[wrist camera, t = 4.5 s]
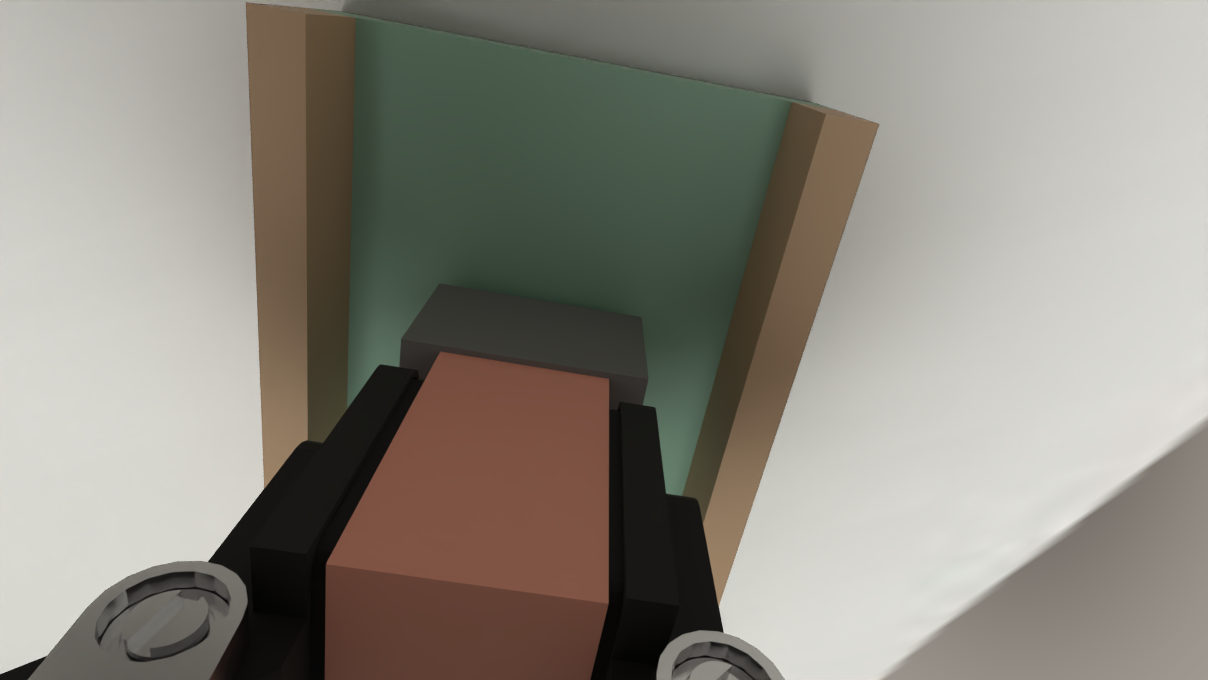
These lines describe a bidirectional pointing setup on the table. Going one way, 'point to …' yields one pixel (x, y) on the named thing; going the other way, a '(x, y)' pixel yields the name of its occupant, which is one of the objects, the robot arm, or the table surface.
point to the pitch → (539, 224)
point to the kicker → (488, 498)
